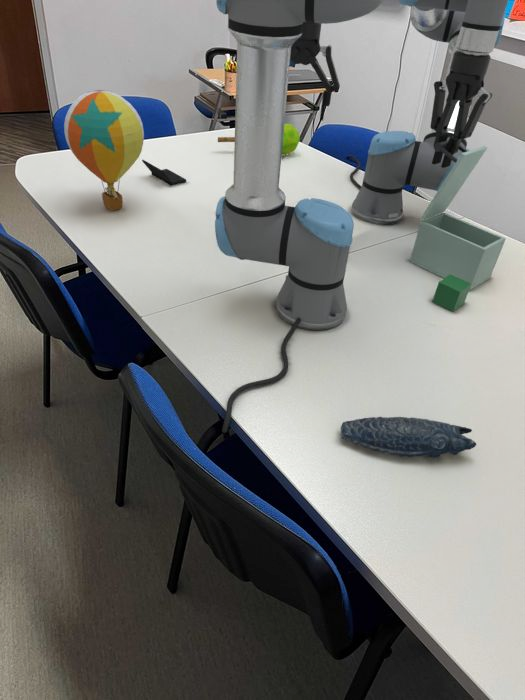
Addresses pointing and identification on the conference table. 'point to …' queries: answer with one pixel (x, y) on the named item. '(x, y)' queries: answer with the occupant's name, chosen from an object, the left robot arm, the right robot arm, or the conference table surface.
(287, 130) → the decorative tree
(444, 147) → the lid
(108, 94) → the toy
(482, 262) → the chest
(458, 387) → the conference table surface
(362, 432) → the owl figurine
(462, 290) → the block
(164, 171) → the black angular piece
